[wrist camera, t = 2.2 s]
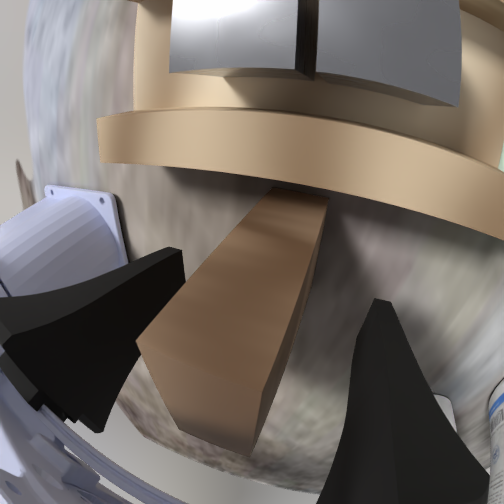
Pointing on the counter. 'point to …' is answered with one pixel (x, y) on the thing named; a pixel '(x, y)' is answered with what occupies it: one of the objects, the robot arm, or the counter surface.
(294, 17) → the grey cube
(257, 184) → the counter surface
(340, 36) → the dark grey cube
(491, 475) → the supplement tub
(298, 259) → the brown wooden block
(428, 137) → the slot board
